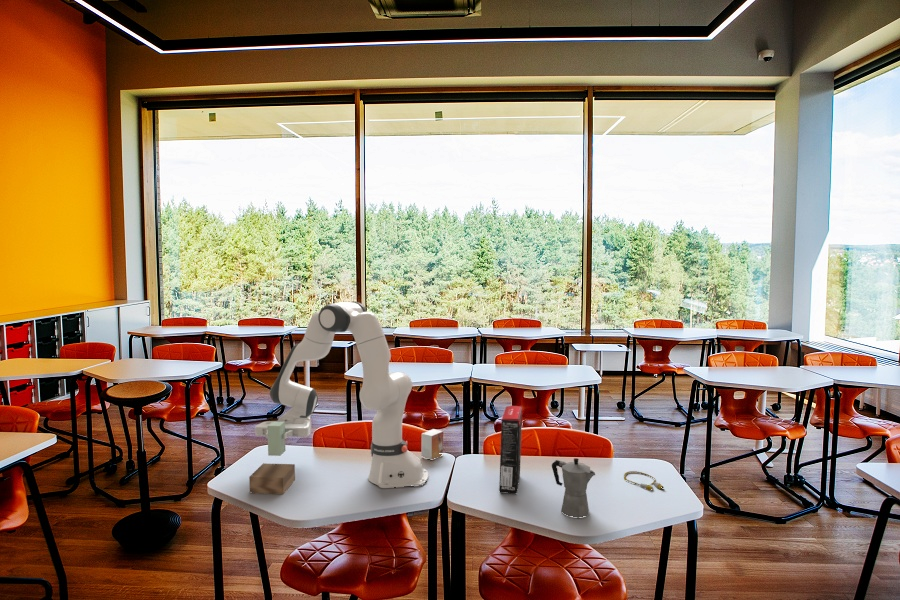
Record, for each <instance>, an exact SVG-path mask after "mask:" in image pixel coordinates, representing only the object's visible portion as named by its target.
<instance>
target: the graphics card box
mask: <svg viewBox="0 0 900 600" xmlns="http://www.w3.org/2000/svg"><path fill="white" fill-rule="evenodd" d="M522 422H523V406H520V405H519V406H518V405H508V406H505V409H504V411H503V415H502V418H501V423H500V424H501V427H500V428H501V430H500V455H499V457H500V458H499V459H500V460H499V486H498V487H499V488H498V490H499V491H500V492H499V493H501V492H508V493H507V494H511V493H518V490H519V484H520V477H521V459H522V457H521V456H522V453H521V452H522V427H523V426H522V424H523V423H522ZM518 483H519V484H518ZM517 489H518V490H517Z"/></svg>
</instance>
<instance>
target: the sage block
mask: <svg viewBox="0 0 900 600" xmlns="http://www.w3.org/2000/svg"><path fill="white" fill-rule="evenodd" d="M272 421H273V420H272ZM267 429H268V438H267V455H268V456H271V457H272V456H275V457H276V456H277V457H280V456H282V455H283V454H284V453H286V439H282V434H283V433H285V422H277V421H273V422H271V423H270V424H269V425H268V426H267Z"/></svg>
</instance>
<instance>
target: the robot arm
mask: <svg viewBox="0 0 900 600" xmlns="http://www.w3.org/2000/svg"><path fill="white" fill-rule="evenodd" d="M347 331H348V332H350V333H351V334H352V336H353V338H354V341H355V344H356V347H357V351H358V354H359V358H360V361H361V365H362V374H363V375H362V386H361V388H360V390H359V400H360V403H361V405H362V406H363V407H364V408H365V409H366V410H369V411H376V413H375V415H374V417H373V419H372V423H371V426H372V428H371V430H372V431H371V437H372V438H371V439H372V440H371V442H370V443H371V444H370V454H371V456H370V457H371V464H370V470H369V473H368V478H367V479H368V481H369V482H370V483H372V484H375V485H377V486H378V487H379V488H380V489H393V488H394V487H396V488H405V487H404V486H411V485H422V484H424V483H425V482H426V481H427V482H428V480H429V471H428V470H427V469H425V468H424V467H423V465H422V461H421V459H420V457H418V456H416V454H414V453H412V451H409V450H408V440H406V441H405V440H404V439H403V418H404V413H405V408H406V403H407V401H408V397H409V395H410V394H411V391H412V390H413V389H412V388H413V382H412V379H411V377H410V376H409V375H408V374H407V373H405V372H400V371H398V372H397V371H396V372H390V371H389V370H390V369H389V366H390V361H391V359H392V354H391V350H390V347H389V344H388V341H387V338H386V336H385V332H384V330H383V327H382V325H381V323H380V321H379V319H378V317H377V316H376V314H375V313H373V312H371V311H367V308H366V307H365V306H364V304H363V303H361V302H358V301H338V302H334V303H332V302H331V303H328V304H326V305H324V306H323V307H322V308H321V309H320V310H318V311H315V312H314V313H313V314H312V315H311V318H310V319H309V322H308V324H307V327H306V330H305V333H304V336H303V338H302V340H301V341H300V342H299V343H295V344H294V345H293V347H292V348H291V350H289V353H288V354H287V357H286V359H285V361H284V363H283V365H282V367H281V369H280V372H279V373H278V375H277V377H276V379H275V381H274V382H273V384H272V386H271V387H270V390H269V397H270V399H271V401H272V402H273V403H274V404H278V405H282V406H286V407H290V409H288V410H287V412H285V413H283V414H282V415H281V416H280V417H279V418H278V419H277V421H276V422H285V433H283V434H282V439H285V440H286V439H287V438H306V437H307V438H308V437H309V436H310V434H311V433H312V419H311V416H312V414H313V413H314V412H315V409H316V407H317V404H318V401H319V400H318V399H319V395H318V393H317V391H316V389H315V388H314V387H313V388H312V387H309V386H308V385H307V386H306V385H303V384H300V383H298V382H295V381H292V380H291V379H290V377H291V376H292V374H293V371H294V369H295V368H296V366H297V363H299V362H310V361H318V360H322V359H324V358H326V356H327V355H328V354H329V353H330V350H331V348H332V345H333V342H334V337H335V335H336V333H345V332H347ZM271 422H273V420H271V421H270V420H269V421H263V422H261V423H258V424H257V425H255V427H254V435H255V436H256V437H265V439H268V429H267V426H268V425H269V424H270V423H271ZM427 479H428V480H427ZM427 482H426V483H427ZM426 483H425V484H426ZM425 484H424V485H425ZM422 486H423V485H422Z"/></svg>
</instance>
